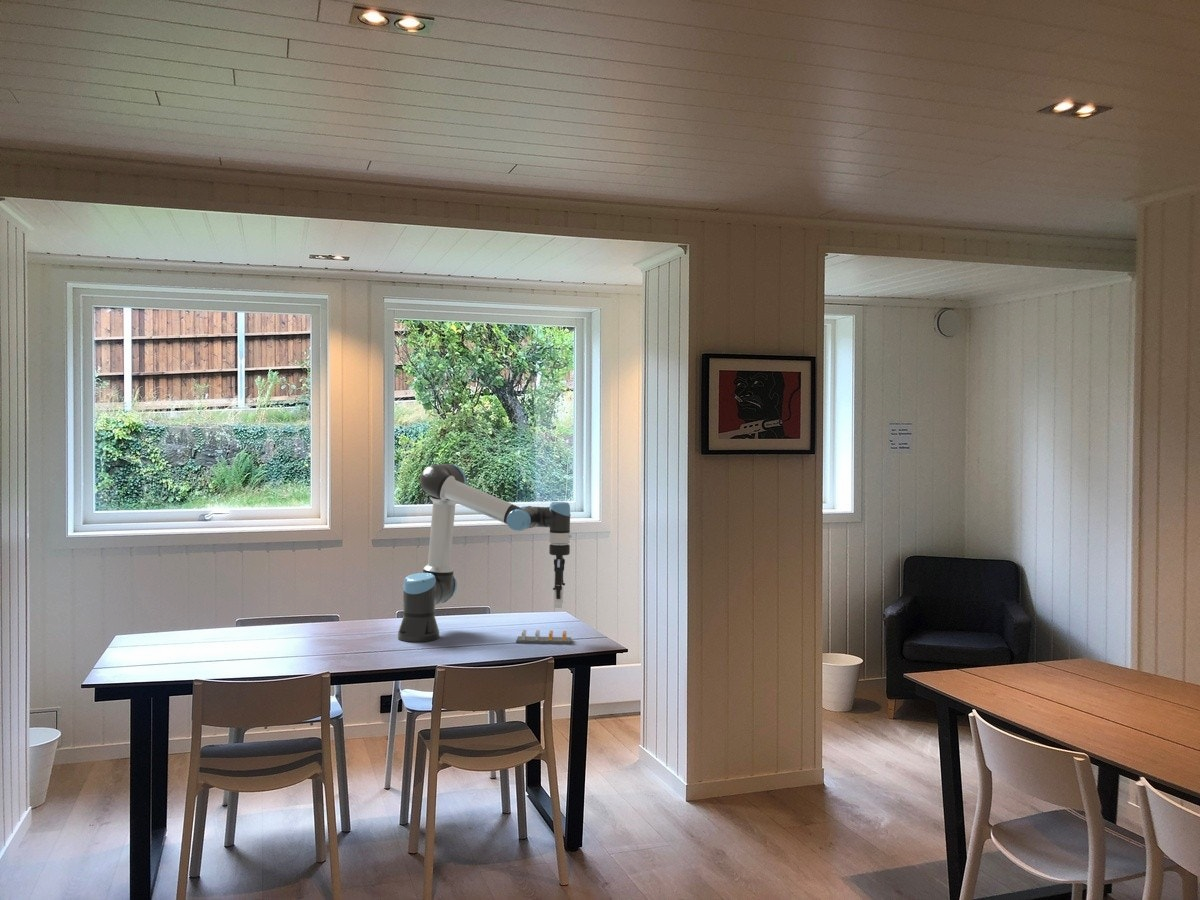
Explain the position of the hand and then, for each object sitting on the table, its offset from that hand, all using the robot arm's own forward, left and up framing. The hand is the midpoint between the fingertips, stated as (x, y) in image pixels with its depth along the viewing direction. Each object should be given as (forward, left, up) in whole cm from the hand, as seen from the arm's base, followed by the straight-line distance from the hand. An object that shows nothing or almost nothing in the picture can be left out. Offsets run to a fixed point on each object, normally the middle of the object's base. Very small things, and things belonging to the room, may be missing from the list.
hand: (558, 605), depth 348 cm
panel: (0, 0, 0) cm, 0 cm away
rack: (-5, 0, -14) cm, 15 cm away
